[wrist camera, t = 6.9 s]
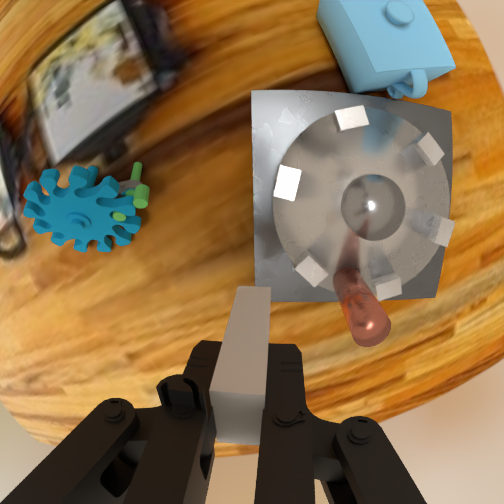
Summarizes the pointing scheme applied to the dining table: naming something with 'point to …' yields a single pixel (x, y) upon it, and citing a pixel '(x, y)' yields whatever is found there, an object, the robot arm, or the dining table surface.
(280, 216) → the grey rounded piece
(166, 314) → the dining table surface
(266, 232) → the base plate
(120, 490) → the robot arm
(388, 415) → the dining table surface
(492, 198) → the dining table surface
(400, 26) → the teapot
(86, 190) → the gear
